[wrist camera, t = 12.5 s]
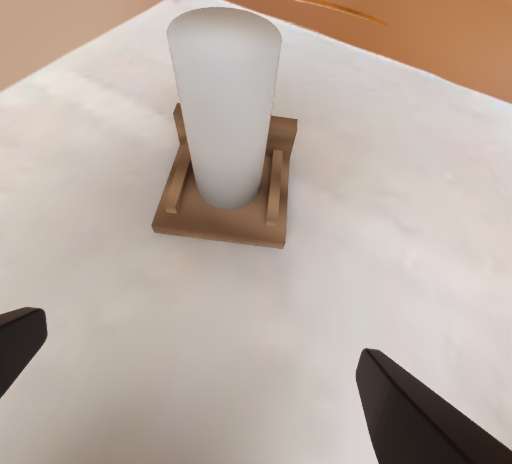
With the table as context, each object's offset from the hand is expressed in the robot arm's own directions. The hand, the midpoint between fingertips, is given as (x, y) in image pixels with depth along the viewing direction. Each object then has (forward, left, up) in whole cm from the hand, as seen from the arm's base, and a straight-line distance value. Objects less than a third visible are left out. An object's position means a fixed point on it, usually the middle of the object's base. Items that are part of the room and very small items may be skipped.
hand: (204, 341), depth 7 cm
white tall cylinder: (+6, +15, -12) cm, 20 cm away
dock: (+6, +15, -14) cm, 21 cm away
